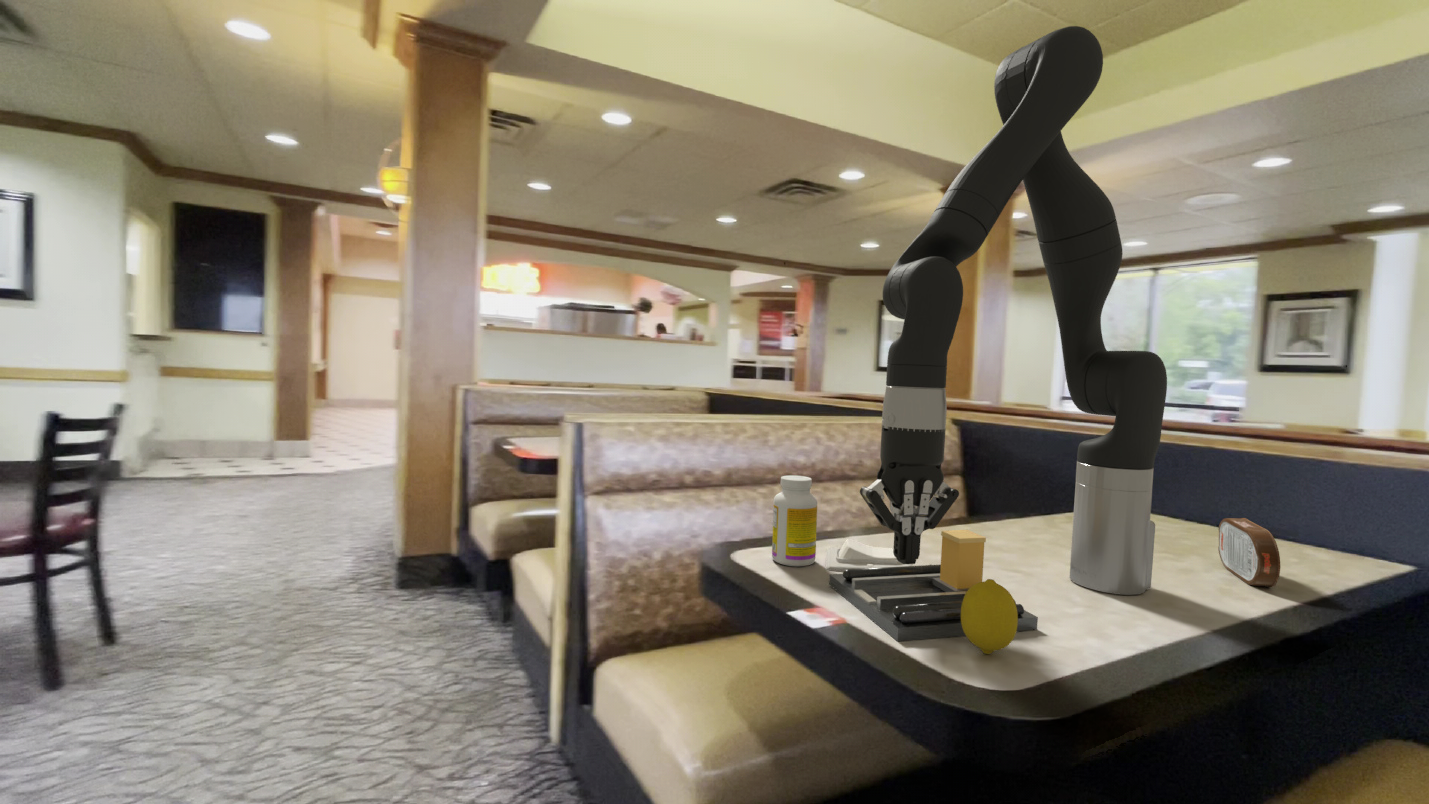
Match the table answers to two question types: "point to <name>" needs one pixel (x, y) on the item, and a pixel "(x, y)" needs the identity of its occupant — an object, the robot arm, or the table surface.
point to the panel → (909, 601)
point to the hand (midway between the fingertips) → (905, 562)
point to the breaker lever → (960, 560)
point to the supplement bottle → (794, 522)
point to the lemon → (989, 616)
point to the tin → (1249, 552)
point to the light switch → (859, 557)
